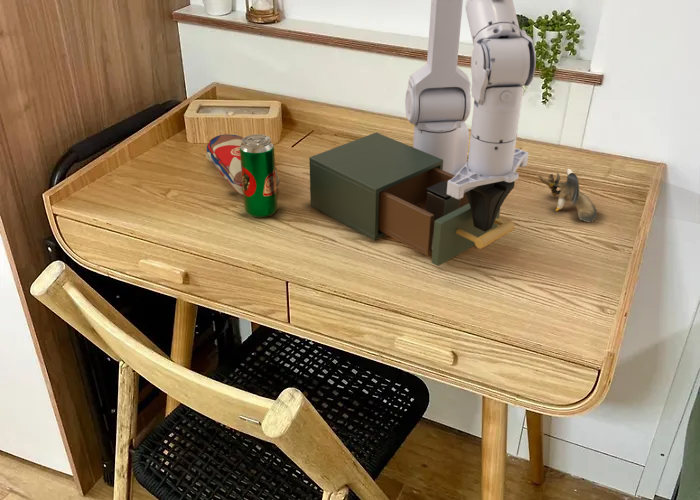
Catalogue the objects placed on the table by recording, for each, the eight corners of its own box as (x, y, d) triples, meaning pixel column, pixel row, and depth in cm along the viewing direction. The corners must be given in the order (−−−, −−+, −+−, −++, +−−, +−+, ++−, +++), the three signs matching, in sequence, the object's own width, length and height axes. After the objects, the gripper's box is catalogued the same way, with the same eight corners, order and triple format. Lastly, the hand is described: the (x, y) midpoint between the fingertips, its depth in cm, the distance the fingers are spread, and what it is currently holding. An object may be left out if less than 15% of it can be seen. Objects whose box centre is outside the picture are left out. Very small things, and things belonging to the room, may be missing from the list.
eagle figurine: (526, 198, 112) (569, 213, 105) (545, 156, 112) (589, 168, 104) (556, 213, 117) (598, 228, 109) (574, 173, 116) (618, 185, 109)
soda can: (272, 220, 108) (267, 148, 102) (240, 217, 109) (234, 145, 103) (281, 205, 113) (277, 134, 106) (251, 202, 113) (245, 131, 107)
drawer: (524, 245, 101) (530, 203, 98) (465, 281, 93) (470, 237, 90) (428, 200, 112) (431, 162, 109) (368, 229, 105) (369, 188, 101)
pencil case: (213, 207, 112) (210, 178, 109) (205, 155, 128) (202, 129, 125) (283, 199, 114) (281, 171, 112) (266, 150, 130) (264, 124, 128)
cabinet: (439, 208, 112) (443, 159, 107) (374, 240, 104) (376, 189, 99) (375, 178, 121) (376, 132, 116) (310, 205, 112) (309, 157, 108)
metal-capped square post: (439, 220, 105) (443, 180, 102) (458, 229, 103) (462, 189, 99) (423, 228, 103) (426, 188, 99) (442, 237, 101) (445, 197, 97)
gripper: (483, 161, 83) (472, 258, 90) (553, 128, 91) (538, 220, 99) (437, 142, 87) (430, 237, 94) (508, 113, 96) (496, 202, 103)
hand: (482, 227), depth 97 cm, fingers closed
